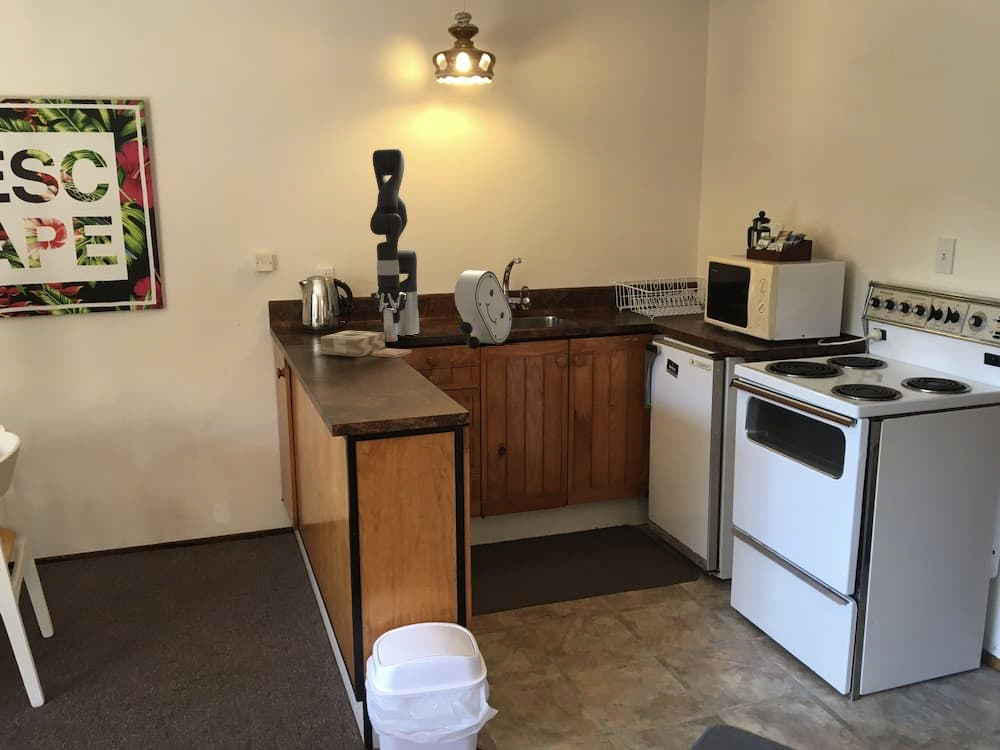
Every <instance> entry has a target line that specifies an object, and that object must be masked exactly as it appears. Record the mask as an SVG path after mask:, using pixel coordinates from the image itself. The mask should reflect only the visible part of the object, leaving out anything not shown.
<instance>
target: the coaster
mask: <svg viewBox="0 0 1000 750" xmlns="http://www.w3.org/2000/svg"><path fill="white" fill-rule="evenodd" d="M409 354H412V349H403V348H401V349H400V348H391V347H390V348H385V349H383V350H380V351H377V352H373V353H370V355H371V357H383V358H395V359H397V358H400V357H403V356H407V355H409Z"/></svg>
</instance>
